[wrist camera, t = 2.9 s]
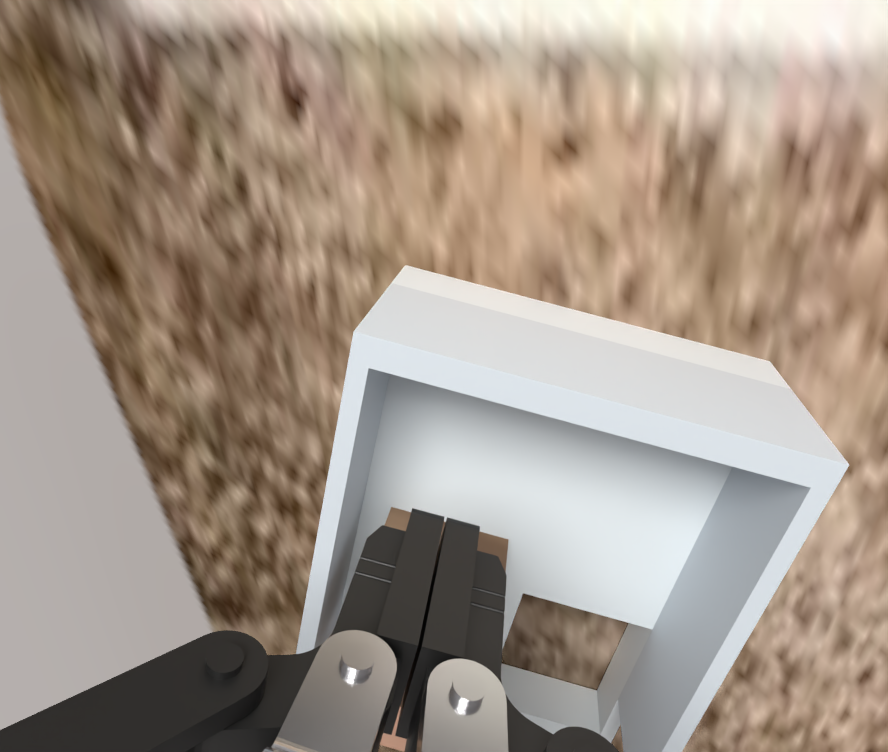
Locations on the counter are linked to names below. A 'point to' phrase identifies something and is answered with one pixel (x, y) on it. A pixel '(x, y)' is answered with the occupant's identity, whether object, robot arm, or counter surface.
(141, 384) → the counter surface
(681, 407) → the cubby
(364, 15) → the counter surface
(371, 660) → the robot arm
